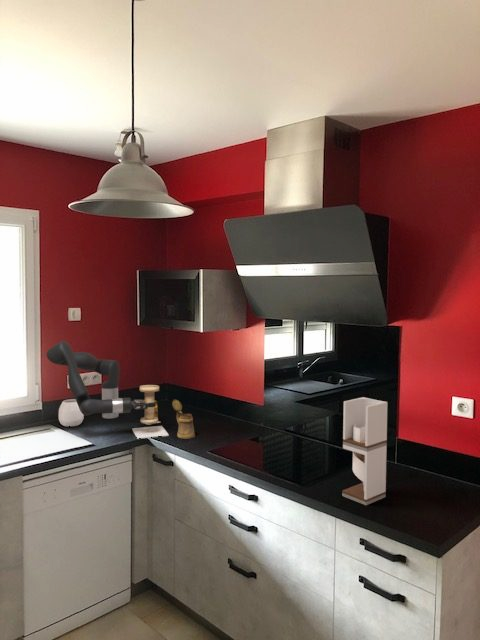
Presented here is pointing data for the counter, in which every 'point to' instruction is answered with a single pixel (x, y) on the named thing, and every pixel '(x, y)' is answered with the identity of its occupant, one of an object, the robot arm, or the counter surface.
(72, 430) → the counter surface
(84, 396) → the robot arm
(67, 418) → the white faceted vase
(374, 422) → the display case
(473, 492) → the counter surface
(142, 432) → the mat
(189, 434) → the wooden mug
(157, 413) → the condiment
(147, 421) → the wooden spool
